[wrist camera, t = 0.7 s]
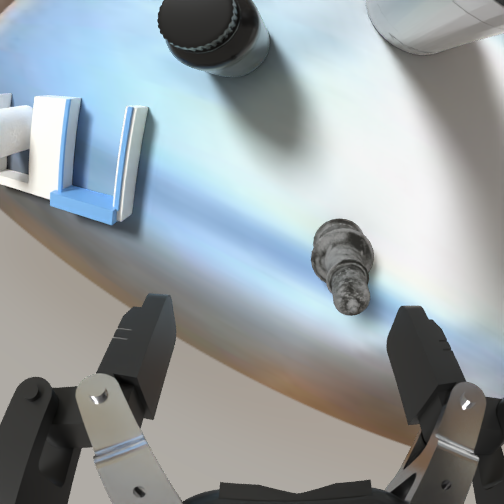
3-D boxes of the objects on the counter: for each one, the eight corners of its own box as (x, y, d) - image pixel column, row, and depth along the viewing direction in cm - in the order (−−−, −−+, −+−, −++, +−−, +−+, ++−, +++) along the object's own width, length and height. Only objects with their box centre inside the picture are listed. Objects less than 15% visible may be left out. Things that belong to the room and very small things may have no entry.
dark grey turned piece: (311, 270, 34) (312, 346, 23) (309, 216, 32) (312, 277, 21) (365, 268, 33) (389, 342, 22) (368, 214, 30) (400, 273, 20)
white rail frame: (6, 93, 29) (-12, 95, 26) (148, 107, 29) (131, 108, 26) (2, 177, 35) (-15, 184, 32) (131, 215, 34) (116, 226, 31)
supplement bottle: (183, 49, 26) (121, 24, 15) (233, 0, 23) (195, -52, 13) (234, 93, 27) (193, 86, 17) (287, 44, 25) (277, 5, 14)
